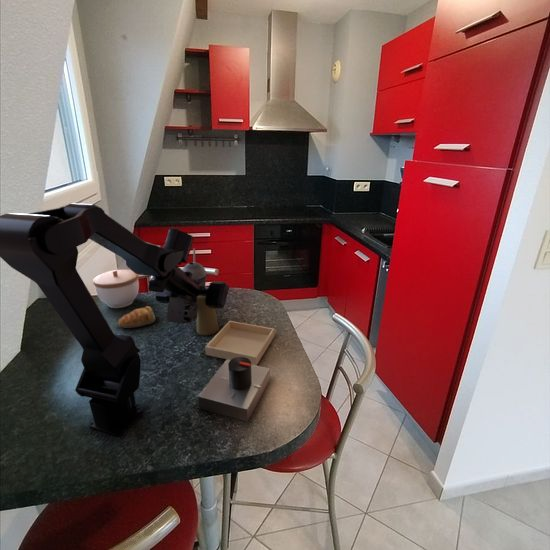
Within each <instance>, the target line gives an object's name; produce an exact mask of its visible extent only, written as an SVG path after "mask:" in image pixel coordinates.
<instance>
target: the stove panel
mask: <svg viewBox="0 0 550 550" xmlns="http://www.w3.org/2000/svg"><path fill="white" fill-rule="evenodd" d="M229 361H230V360H228V359H225V361H224V363H223V364H222V365H221V366H220V367H219V369H218V370H217V371H216V372H215V374H214V375H213V376H212V378H211V379H210V380H209V382H208V383H207V384H206V385H205V387H204V388H203V390H201V392H200V393H199V394H198V397H197V398H198V408H199V409H200V410H203V411H207V412H211V413H214V414H218V415H221V416H225V417H228V418H232V419H236V420H238V421H239V420H240V421H243V422H249V421H250V418H252V417H251V416H252V415H253V413H254V411H255V409H256V407H257V406H258V403H259V401H260V399H261V397H262V395H263V394H264V392H265V390H266V388H267V386H268V385H269V382H270V380H271V379H270V377H271V370H270V368H268V367H265V366H261V365H251V372H252V383H251V385H250V386H249V387H248V388H247V389H244V390H235V389H233V388H232V387H231V386H230V384H229V369H228V363H229Z"/></svg>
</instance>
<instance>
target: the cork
mask: <svg viewBox="0 0 550 550" xmlns="http://www.w3.org/2000/svg"><path fill="white" fill-rule="evenodd" d="M205 299H206V296H198V297H197V301H196V304H197V305H198V310H197V317H196V333H197V335H198V334H199V335H201V336H212V335H214V334H217V333H218V332H219V331H220V327H219V323H218V318H217V314H216V310H215V309H216V308H209V307H208V306H207V305H206V302H205Z"/></svg>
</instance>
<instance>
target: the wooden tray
mask: <svg viewBox="0 0 550 550" xmlns="http://www.w3.org/2000/svg"><path fill="white" fill-rule="evenodd" d="M275 336H276V335H275V328H272V327H268V326H261V325H257V324H250V323H244V322H239V321H234V320H229V321H228V322H227V323H226V324H225V325H224V326H223V327H222V328H221V329H219V330H218V331H217V333H216V334H215V336H213V337H212V339H210V341H209V342H208V343H207V344H206V345H205V346H204V347H205V349H204V350H205V355H206V356H209V357H214V358H220V359H223V360H227V359H228V360H231V359H233V358H236V357H246V358H248V359H249V360H250V361H251V365H256V366H258V364H259V363H260V360H261V359H262V357H263V356H264V354H265V352H266V351H267V349H268V347H269V346H270V345H271V343H272V341H273V340H274V338H275Z"/></svg>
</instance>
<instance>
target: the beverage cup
mask: <svg viewBox="0 0 550 550" xmlns="http://www.w3.org/2000/svg"><path fill="white" fill-rule="evenodd" d="M192 255H193V256H192V257H193V258H192V259H193V260H192V262H188V263H186V264H185V265H184V266H183V268H182V270H183V271H184V272H191V273H192V277H191V278H193V279H199V280H200V281H201V282H200V285H199V286H206V283H207V277H208V273H207V271H206V269H205V267H204V266H203V265H202V264H201V263H199V262H196V248H192ZM193 307H196V308H197V310H198V305H197V304H193Z"/></svg>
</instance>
